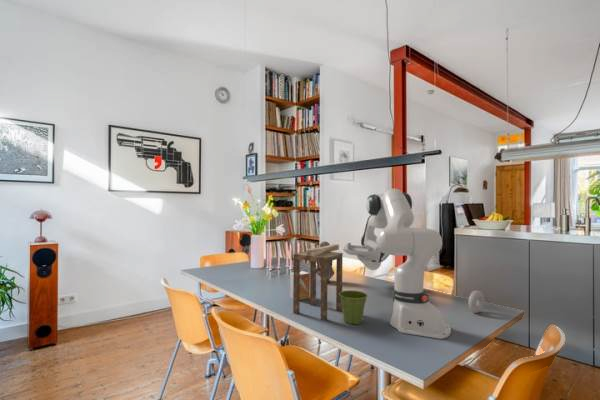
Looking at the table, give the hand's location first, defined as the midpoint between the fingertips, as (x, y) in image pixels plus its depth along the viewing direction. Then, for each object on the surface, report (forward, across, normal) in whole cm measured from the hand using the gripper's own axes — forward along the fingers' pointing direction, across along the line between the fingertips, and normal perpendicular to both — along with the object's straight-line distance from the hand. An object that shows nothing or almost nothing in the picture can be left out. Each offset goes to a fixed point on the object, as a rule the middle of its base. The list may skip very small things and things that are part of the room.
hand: (356, 244), depth 171 cm
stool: (+16, -3, +40) cm, 43 cm away
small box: (+6, -21, +35) cm, 41 cm away
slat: (+25, -3, +15) cm, 29 cm away
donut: (-19, +56, +20) cm, 62 cm away
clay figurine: (-26, -27, +16) cm, 41 cm away
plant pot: (+18, +15, +41) cm, 47 cm away
